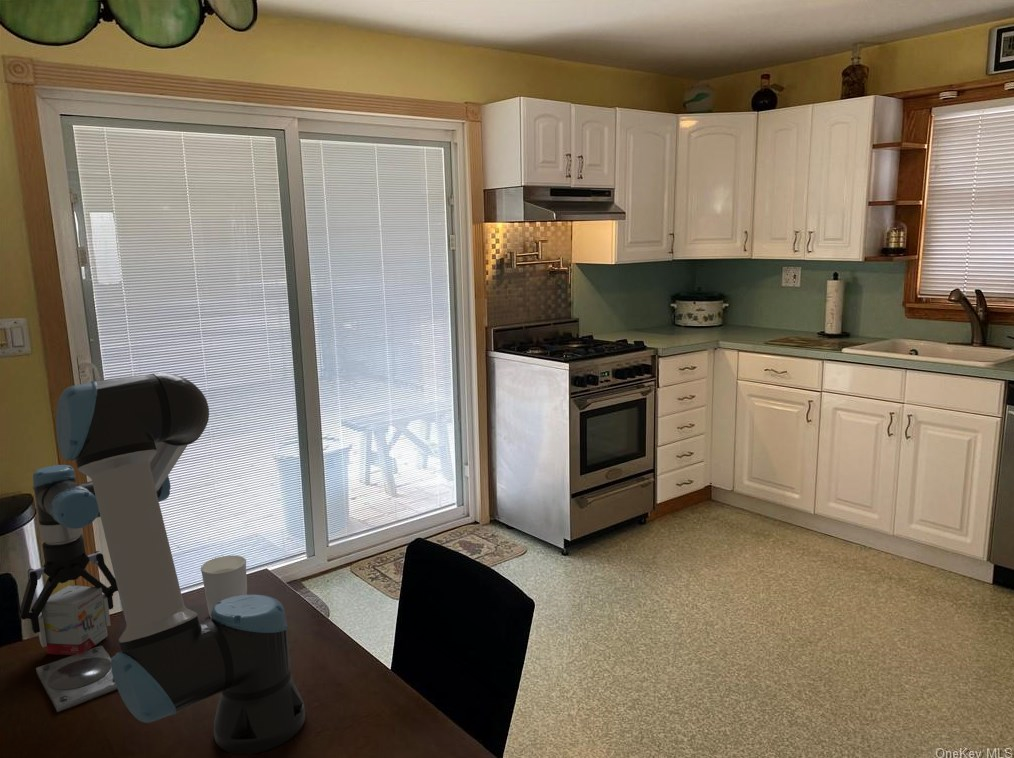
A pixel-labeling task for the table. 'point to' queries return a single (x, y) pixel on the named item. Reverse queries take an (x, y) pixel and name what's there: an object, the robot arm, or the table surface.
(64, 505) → the robot arm
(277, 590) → the table surface
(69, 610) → the ink box
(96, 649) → the flange
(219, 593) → the candle holder
